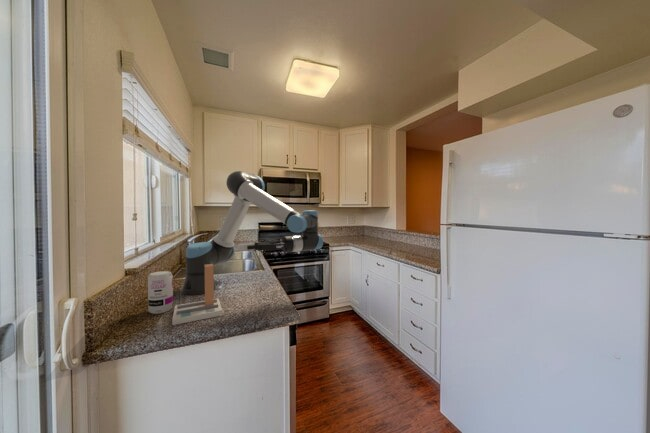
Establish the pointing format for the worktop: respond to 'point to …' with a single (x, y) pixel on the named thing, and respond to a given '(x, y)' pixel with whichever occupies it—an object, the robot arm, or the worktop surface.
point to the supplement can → (160, 292)
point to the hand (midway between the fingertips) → (238, 247)
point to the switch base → (195, 311)
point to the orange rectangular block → (209, 284)
